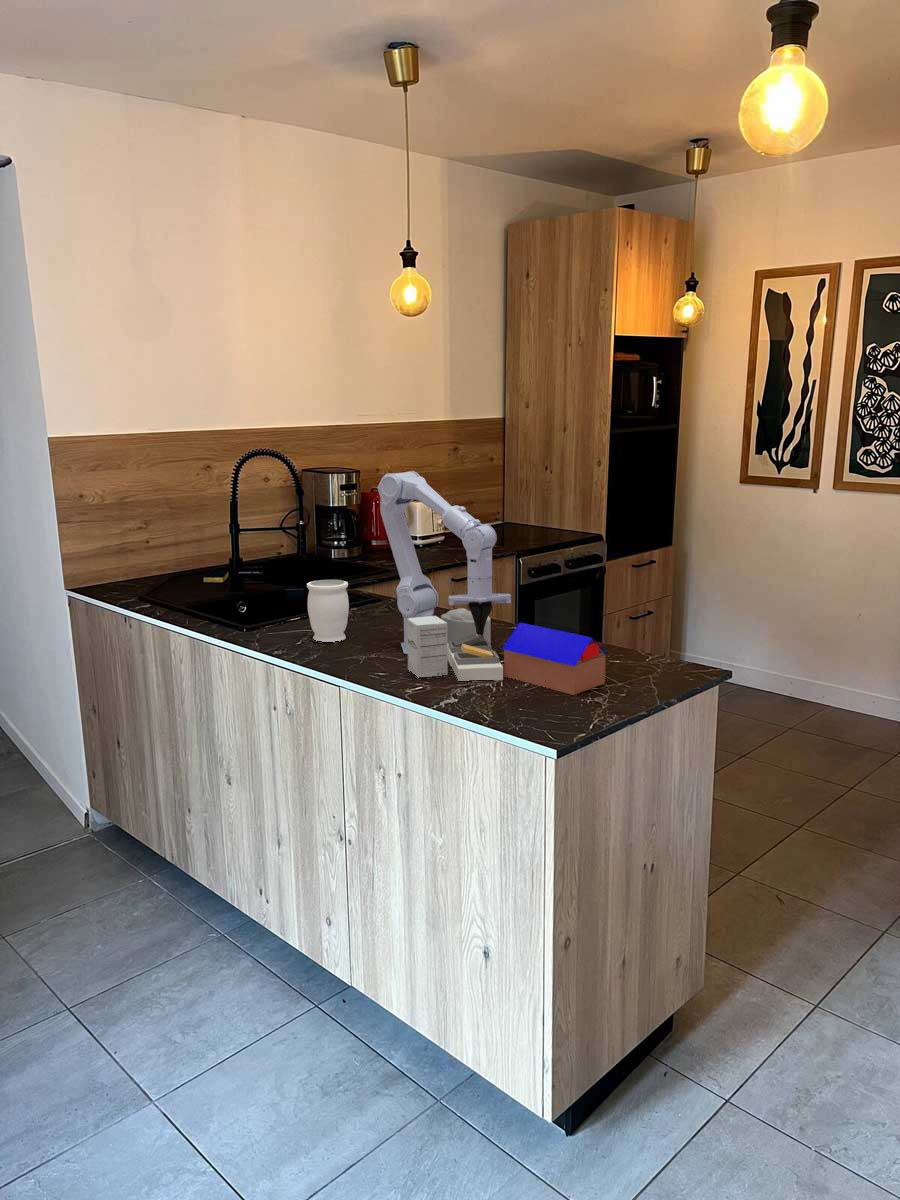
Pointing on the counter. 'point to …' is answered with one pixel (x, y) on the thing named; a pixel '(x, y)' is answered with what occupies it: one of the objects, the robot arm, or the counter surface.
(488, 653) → the amber rocker
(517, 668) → the house
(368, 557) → the counter surface
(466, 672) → the cream switch panel
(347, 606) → the jar
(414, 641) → the supplement box
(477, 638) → the charcoal rocker
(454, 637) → the lumpy-topped squat cylinder
